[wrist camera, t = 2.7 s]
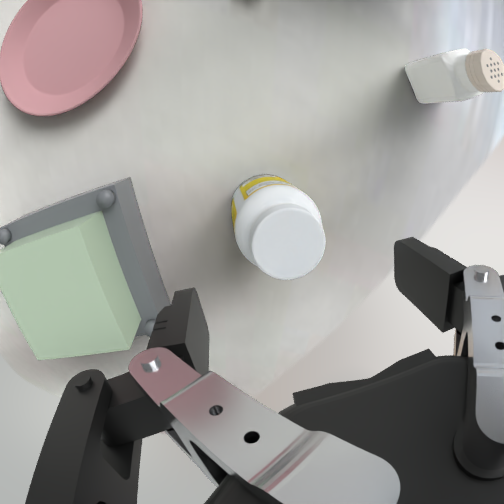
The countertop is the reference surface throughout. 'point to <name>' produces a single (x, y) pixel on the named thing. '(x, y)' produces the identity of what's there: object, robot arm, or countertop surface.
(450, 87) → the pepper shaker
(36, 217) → the sponge in grey tray
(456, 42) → the countertop surface
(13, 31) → the plate
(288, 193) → the supplement bottle
